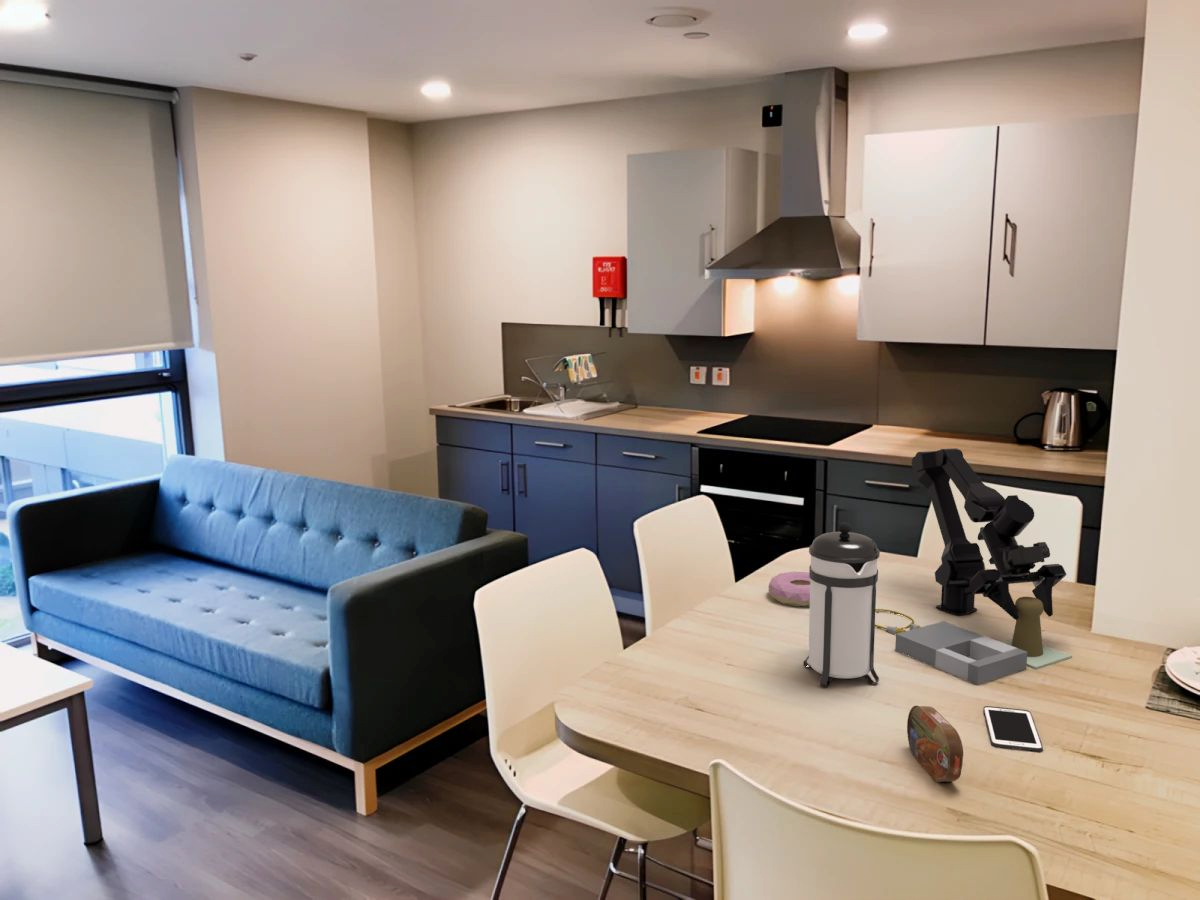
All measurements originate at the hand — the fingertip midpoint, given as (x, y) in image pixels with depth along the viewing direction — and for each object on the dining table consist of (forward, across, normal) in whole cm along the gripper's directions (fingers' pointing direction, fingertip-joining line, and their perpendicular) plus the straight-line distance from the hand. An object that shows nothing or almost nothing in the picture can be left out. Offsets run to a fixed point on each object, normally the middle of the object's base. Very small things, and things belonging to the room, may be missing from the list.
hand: (1034, 617), depth 192 cm
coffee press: (+5, -41, +7) cm, 42 cm away
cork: (+4, 0, +6) cm, 8 cm away
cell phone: (+25, -23, -13) cm, 37 cm away
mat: (+5, 0, +7) cm, 8 cm away
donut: (-25, -30, +37) cm, 54 cm away
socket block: (+4, -15, +7) cm, 17 cm away
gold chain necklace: (-10, -18, +23) cm, 31 cm away
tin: (+31, -43, -19) cm, 56 cm away
